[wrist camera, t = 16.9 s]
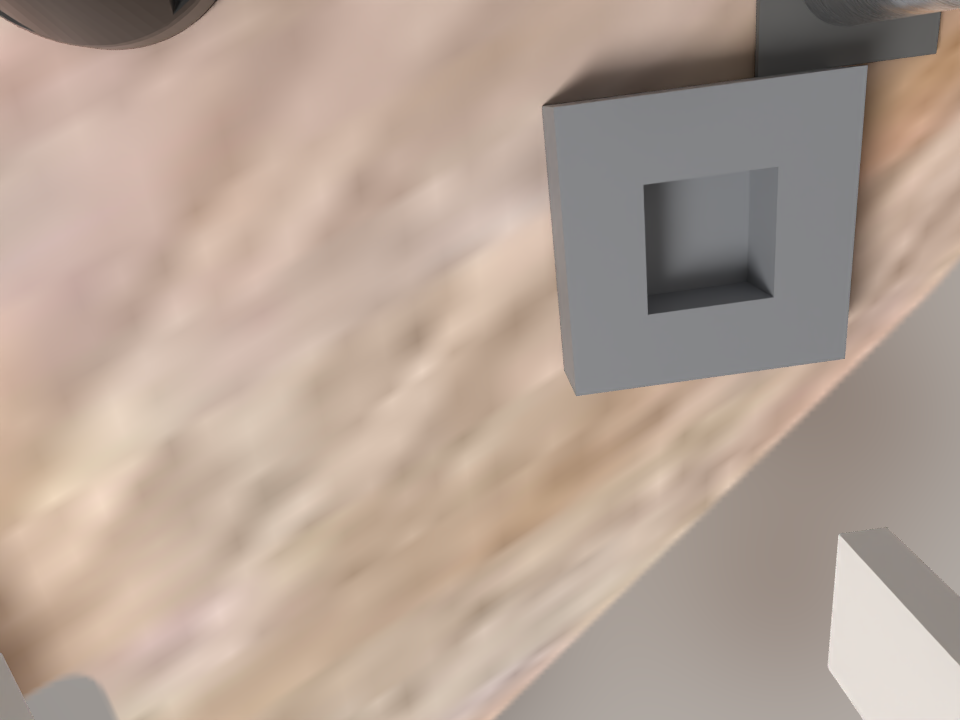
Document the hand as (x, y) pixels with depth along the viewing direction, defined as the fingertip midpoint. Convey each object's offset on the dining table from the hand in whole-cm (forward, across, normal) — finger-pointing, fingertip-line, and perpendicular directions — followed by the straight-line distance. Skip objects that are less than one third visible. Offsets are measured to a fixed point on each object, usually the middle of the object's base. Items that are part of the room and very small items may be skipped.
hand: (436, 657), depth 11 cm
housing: (+32, +15, -1) cm, 35 cm away
